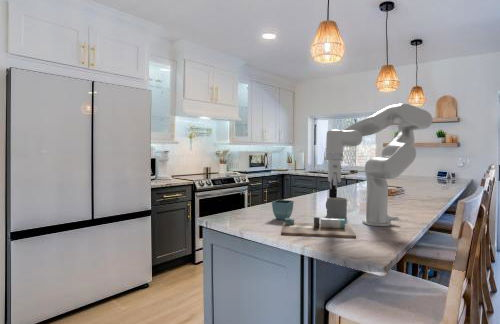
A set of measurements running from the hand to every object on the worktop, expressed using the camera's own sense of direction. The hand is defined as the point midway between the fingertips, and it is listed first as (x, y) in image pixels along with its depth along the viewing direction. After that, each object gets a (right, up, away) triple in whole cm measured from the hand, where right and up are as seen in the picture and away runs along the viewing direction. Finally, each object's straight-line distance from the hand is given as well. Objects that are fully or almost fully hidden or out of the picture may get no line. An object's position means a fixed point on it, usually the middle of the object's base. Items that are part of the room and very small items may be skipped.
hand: (332, 197), depth 144 cm
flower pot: (-21, -13, +17) cm, 30 cm away
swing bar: (-1, -12, -5) cm, 14 cm away
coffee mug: (+7, -13, +22) cm, 26 cm away
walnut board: (-9, -14, -6) cm, 17 cm away
